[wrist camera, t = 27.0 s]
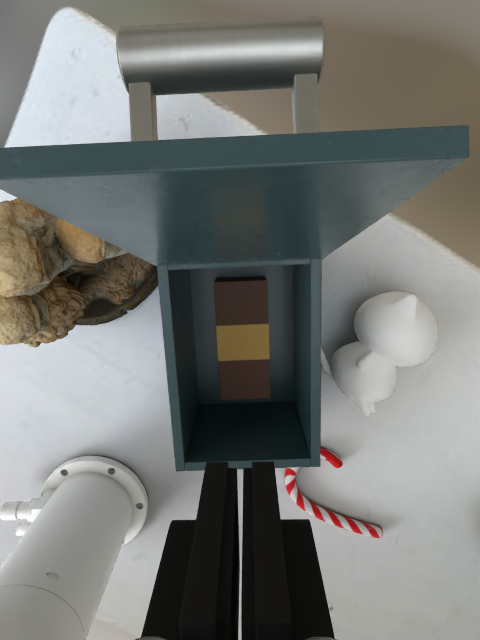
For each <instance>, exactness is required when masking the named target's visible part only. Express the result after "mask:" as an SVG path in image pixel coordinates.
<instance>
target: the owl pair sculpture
mask: <svg viewBox="0 0 480 640" xmlns="http://www.w3.org/2000/svg"><path fill="white" fill-rule="evenodd" d="M158 283H159V282H158V271H157V266H155V265H153V264H151V263H149V262H147V261H145V260H143V259H141V258H139V257H137V256H135V255H133V254H131V253H129V252H127V251H125V250H123V249H121V248H119V247H117V246H115V245H113V244H111V243H109V242H106V241H104V240H102V239H100V238H98V237H96V236H94V235H92V234H90V233H88V232H86V231H84V230H82V229H80V228H78V227H76V226H74V225H72V224H70V223H68V222H66V221H64V220H62V219H60V218H58V217H56V216H54V215H52V214H50V213H48V212H46V211H44V210H42V209H40V208H38V207H36V206H34V205H32V204H30V203H28V202H26V201H24V200H22V199H20V198H17V199H14V200H12V201H3V202H1V203H0V344H1V345H9V344H18V343H25V344H29V346H32V347H38V346H39V345H40V343H42V342H43V343H50V342H54V341H55V340H56V339H61V338H64V337H65V336H67V335H68V331H70V330H72V329H73V328H74V327H75V325H97V324H103V323H107V322H109V321H113V320H115V319H117V318H119V317H122V316H123V315H125V314H127V311H125V312H121V311H120V310H123V309H129V310H133V309H134V308H136V307H137V306H138V305H139V304H140V303H142V302H143V301H144V300H145V299H146V298H147V297H148V296H149V295H150V293H151V292H152V291H153V290H154V289H155V288H156V286H157V285H158Z"/></svg>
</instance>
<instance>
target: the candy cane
mask: <svg viewBox="0 0 480 640" xmlns="http://www.w3.org/2000/svg"><path fill="white" fill-rule="evenodd" d="M320 459H325V460H327V461H329V462H330V463H331V464H332V465H333V466H334V467H336V468H340V467H341V466H342V465H343V463H342V460H341V459H340V458H339V457H338V456H337V455H336V454H335V453H333V452H332V451H329V450H327V449H323V448H320ZM299 468H300V467H291V468H287V469H286V473H285V485H286V489H287V491H288V493H289V495H290V497H291V498H292V499H293V501H294V502H295V503H296V504H297V505H298V506H299V507H300V508H302V509H303V510H304V511H306V512H307V513H309V514H311V515H312V516H314V517H316V518H318V519H320V520H323V521H325V522H328V523H330V524H333V525H335V526H338V527H341V528H344V529H347V530H350V531H353V532H356V533H360V534H363V535H367V536H371V537H376V538H382V536H383V530H382V528H381V527H378V526H375V525H371V524H368V523H364V522H360V521H357V520H354V519H351V518H348V517H345V516H342V515H339V514H337V513H334V512H331V511H329V510H326V509H324V508H322V507H320V506H318V505H316V504H314V503H312V502H311V501H309V500H308V499H307V498H305V497H304V496H303V495H302V494H301V493H300V491H299V490H298V488H297V485H296V475H297V472H298V470H299Z"/></svg>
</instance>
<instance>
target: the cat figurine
mask: <svg viewBox="0 0 480 640" xmlns="http://www.w3.org/2000/svg"><path fill="white" fill-rule="evenodd" d="M354 328H355V332H356V335H357V337H358V339H359V341H356V342H353V343H350V344H347V345H345V346H343V347H341V348H340V349H339V350H337V351H336V352H335V354H334V356H333V358H332V362H331V368H330V366H329V364H328V361H327V359H326V357H325V355H324V353H323V350H322V348H321V366H322V367H323V369H324V370H325V371H326V372H327V374H328V375H329V376H330V377H331V378H332V379H333V380H334V381H335V383H336V385H337V386H338V388H339V389H340V390H341V391H342V392H343V393H344V394H345V395H347V396H348V397H350V398H351V399H352V401H353V402H354V403H355V404H356V406H357V407H358V408H359V409H360V411H361V412H362V413H363V414H364V415H366V416H368V417H371V412H373V413H375V412H376V409H375V402H378V401H381V400H384V399H386V398H388V397H389V396H391V395H392V394H393V392H394V390H395V388H396V384H397V368H396V366H402V367H411V366H416V365H419V364H422V363H423V362H425V361H427V360H428V359H429V358H430V357H431V356H432V354H433V353H434V351H435V349H436V346H437V342H438V325H437V320H436V317H435V315H434V313H433V311H432V309H431V308H430V306H429V305H428V304H427V303H426V302H425V301H424V300H423V299H421V298H420V297H418V296H416V295H414V294H411V293H407V292H401V291H394V292H387V293H382V294H379V295H377V296H374V297H372V298H370V299H369V300H367V301H366V302H365V303H363V304H362V305H361V306H360V308H359V309H358V310H357V312H356V315H355V318H354Z"/></svg>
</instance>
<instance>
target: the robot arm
mask: <svg viewBox="0 0 480 640" xmlns="http://www.w3.org/2000/svg"><path fill="white" fill-rule="evenodd" d="M147 512H148V498H147V494H146V490H145V488H144V486H143V484H142V483H141V481H140V480H139V478H138V477H137V476H136V475H135V474H134V473H133V472H132V471H131V470H130V469H129V468H127V467H126V466H124V465H123V464H121V463H119V462H117V461H115V460H112V459H110V458H105V457H101V456H82V457H77V458H74V459H70V460H68V461H66V462H64V463H63V464H61V465H60V466H59V467H57V468H56V469H55V470H54V471H53V472H52V474H51V475H50V476H49V477H48V479H47V480H46V482H45V484H44V485H43V488H42V491H41V497H40V498H34V499H33V500H31V502H22V501H18V502H5V503H4V504H3V505H2V508H1V510H0V518H1V520H20V519H27V520H28V522H31V523H19V524H18V526H17V529H16V535H17V536H22V538H21V539H20V541H19V542H18V543H17V545H16V546H15V547H14V549H13V550H12V552H11V553H10V554H9V556H8V557H7V559H6V560H5V561H4V563H3V564H2V566H1V567H0V640H86V637H87V634H88V632H89V629H90V627H91V624H92V622H93V619H94V616H95V614H96V611H97V609H98V606H99V603H100V601H101V598H102V596H103V593H104V590H105V588H106V585H107V583H108V580H109V577H110V575H111V572H112V570H113V567H114V564H115V562H116V559H117V557H118V554H119V551H120V549H121V547H122V546H124V545H126V544H127V543H129V542H130V541H131V540H133V539H134V538H135V537H136V536H137V535H138V533H139V532H140V531H141V529H142V527H143V525H144V523H145V520H146V517H147ZM239 572H240V561H239V524H238V489H237V468H229V464H228V462H206V466H205V472H204V478H203V484H202V490H201V495H200V501H199V507H198V513H197V519H196V520H172V522H171V524H170V527H169V530H168V534H167V538H166V542H165V546H164V550H163V554H162V557H161V561H160V565H159V569H158V573H157V577H156V581H155V585H154V589H153V593H152V596H151V600H150V604H149V608H148V612H147V616H146V620H145V624H144V628H143V632H142V635H141V638H139V639H136V640H238V618H239ZM242 640H336V639H335V637H334V633H333V628H332V623H331V618H330V614H329V609H328V604H327V599H326V595H325V590H324V585H323V580H322V576H321V571H320V566H319V561H318V557H317V552H316V547H315V542H314V538H313V533H312V528H311V524H310V521H309V519H290V520H280V512H279V503H278V494H277V485H276V476H275V467H274V461H261V462H252V468H244V475H243V541H242Z"/></svg>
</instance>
